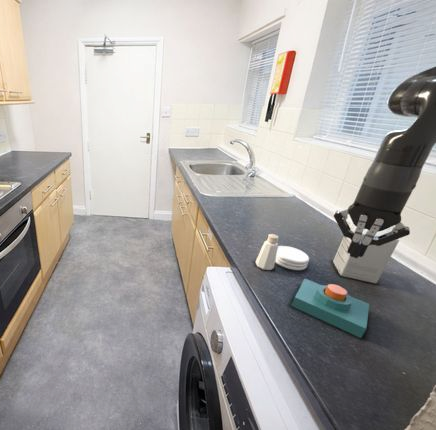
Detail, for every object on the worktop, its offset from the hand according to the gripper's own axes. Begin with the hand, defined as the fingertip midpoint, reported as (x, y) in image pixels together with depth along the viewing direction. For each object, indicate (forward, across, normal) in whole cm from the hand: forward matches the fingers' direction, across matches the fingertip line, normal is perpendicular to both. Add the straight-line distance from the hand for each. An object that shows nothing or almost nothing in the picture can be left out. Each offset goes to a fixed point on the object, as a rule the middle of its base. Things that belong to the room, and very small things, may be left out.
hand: (353, 255), depth 61 cm
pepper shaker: (+17, +18, -9) cm, 26 cm away
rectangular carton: (+17, -3, -26) cm, 31 cm away
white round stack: (+17, +13, -17) cm, 27 cm away
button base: (+16, 0, 0) cm, 17 cm away
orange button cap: (+12, 0, 0) cm, 12 cm away
